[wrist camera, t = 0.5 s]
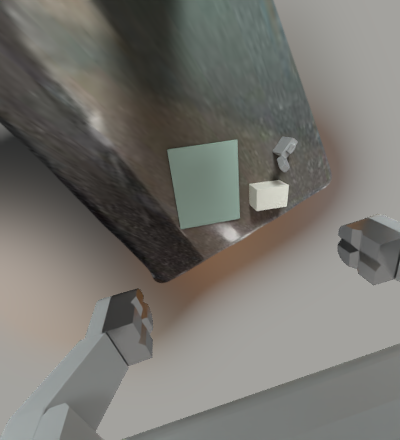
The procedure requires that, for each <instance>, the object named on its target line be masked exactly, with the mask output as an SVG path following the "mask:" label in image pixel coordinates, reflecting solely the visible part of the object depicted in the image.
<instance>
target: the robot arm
mask: <svg viewBox="0 0 400 440" xmlns="http://www.w3.org/2000/svg"><path fill="white" fill-rule="evenodd" d="M338 235H339V237H340V238H341V240H340V242H339V243H338V254H339V256H340V258H341V259H342V261H343V262H344V263H345V264H347V265H348V266H349V267H353V268H356V269H357V270H358V274H359V275H361V276H362V277H363V278H364V279H366V280H367V281H368V282H370V283H371V284H372V285H376V284H380V283H383V282H386V281H390V280H393V279H396V280H397V281H399V282H400V222H398V221H396V220H393V219H391V218H388V217H386V216H384V215H380V214H376V215H373V216H370V217H367V218H365V219H362V220H359V221H356V222H353V223H349V224H346V225H343V226H341V227H340V229H339V233H338ZM143 299H144V295H143V294H142V292H141V290H140V289H135V290H131V291H127V292H124V293H120V294H117V295H113V296H110V297H107V298H103V299H100V300H99V301H98V302H97V303H96V306H95V309H94V312H93V315H92V318H91V321H90V324H89V327H88V330H87V333H86V336H85V339H83V340H80V341H79V342H78V343H77V344H76V346H75V347H74V348H73V349H72V350H71V351H70V352H69V353H68V354H67V356H66V357H65V358H64V359H63V360H62V361H61V362H60V363H59V364H58V366H57V367H56V368H55V369H54V370H53V371H52V372H51V373H50V375H49V376H48V377H47V378H46V379H45V380H44V381H43V382H42V383H41V385H40V386H39V387H38V388H37V389H36V390H35V391H34V392H33V393H32V395H31V396H30V397H29V398H28V399H27V400H26V401H25V403H24V404H23V405H22V406H21V407H20V408H19V409H18V410H17V411H16V413H15V414H14V415H13V416H12V417H11V418H10V419H9V421H8V423H7V425H6V427H5V429H4V431H3V433H2V435H1V437H0V440H103V439H102V438H101V437H100V436H99V435H98V434H97V433H96V432H95V431H96V429H97V427H98V426H99V424H100V422H101V420H102V418H103V416H104V414H105V412H106V410H107V408H108V406H109V404H110V402H111V400H112V399H113V397H114V395H115V393H116V391H117V389H118V387H119V385H120V383H121V381H122V379H123V377H124V376H125V374H126V372H127V370H128V366H130V365H133V364H136V363H139V362H141V361H144V360H147V359H150V358H152V344H153V343H152V342H153V340H152V338H151V336H150V333H151V331H152V330H153V320H152V314H151V311H150V308H149V306H148V304H147V303H145V302H143ZM122 440H400V344H397V345H394V346H391V347H388V348H385V349H383V350H380V351H377V352H374V353H371V354H368V355H365V356H362V357H359V358H357V359H354V360H351V361H348V362H345V363H342V364H339V365H336V366H333V367H330V368H328V369H325V370H322V371H319V372H316V373H313V374H310V375H307V376H304V377H301V378H299V379H296V380H293V381H290V382H287V383H284V384H281V385H278V386H275V387H273V388H270V389H267V390H264V391H261V392H258V393H255V394H252V395H249V396H247V397H244V398H241V399H238V400H235V401H232V402H230V403H227V404H224V405H221V406H218V407H215V408H212V409H209V410H206V411H203V412H201V413H197V414H195V415H192V416H189V417H186V418H183V419H180V420H177V421H174V422H171V423H168V424H166V425H163V426H160V427H157V428H154V429H151V430H148V431H146V432H142V433H139V434H137V435H134V436H131V437H128V438H125V439H122Z"/></svg>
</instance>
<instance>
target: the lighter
mask: <svg viewBox="0 0 400 440" xmlns="http://www.w3.org/2000/svg"><path fill="white" fill-rule="evenodd" d="M297 143H298V141H296V140H295V139H294V138H290V137H284V136H283V137H282V138H281V140H280V141H279V142H278V144H277V145H276V147H275V148H274V150H273V153H275V154H276V155H278V156H280V157H278V158H277V161H278V164H279V168H280V169H281V170H282V171H283V172H286V171H288V170H289V169H290V166H289V164H288V161H287V159H286V158H287V157H288V156H289V154H291V153H292V152H293V150H294V149H295V147H296V144H297Z"/></svg>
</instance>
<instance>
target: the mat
mask: <svg viewBox="0 0 400 440" xmlns="http://www.w3.org/2000/svg"><path fill="white" fill-rule="evenodd" d="M167 152H168V158H169V164H170V170H171V176H172V181H173V187H174V193H175V199H176V205H177V211H178V217H179V222H180V228H181V229H185V228H191V227H196V226H202V225H207V224H213V223H218V222H224V221H229V220H235V219H240V207H239V175H238V144H237V140H230V141H223V142H216V143H209V144H202V145H195V146H188V147H181V148H173V149H167Z"/></svg>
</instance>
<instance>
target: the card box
mask: <svg viewBox="0 0 400 440" xmlns="http://www.w3.org/2000/svg"><path fill="white" fill-rule="evenodd" d="M288 188H289V185H287V184H286V183H284V182H282V181H280V180H274V181H268V182H261V183H254V184H249V205H251V206H252V207H253V208H254V209H255V210H256V211H261V210H267V209H273V208H280V207H286V206H287V199H288Z"/></svg>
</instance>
